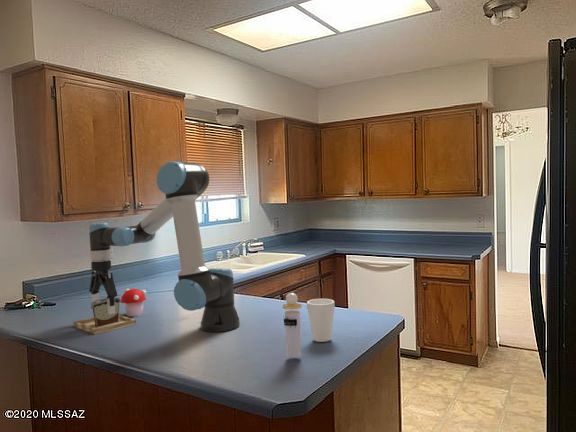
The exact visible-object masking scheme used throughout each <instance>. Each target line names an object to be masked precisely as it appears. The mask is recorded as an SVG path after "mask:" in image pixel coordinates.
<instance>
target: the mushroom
mask: <svg viewBox="0 0 576 432" xmlns="http://www.w3.org/2000/svg"><path fill="white" fill-rule="evenodd" d="M146 294H147V291H146V289H142V290H139V289H138V288H126V289H125V290H124V293H123V294H121V298H120V301H121V304H125V305H124V306H125V307H124V309H125V313H126V317H128V318H131V317H132V318H133V317H140V316H141V315H143V312H144V311H143V310H144V303H143V302H144V301H147V298H146V296H145V295H146Z"/></svg>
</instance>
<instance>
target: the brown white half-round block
mask: <svg viewBox="0 0 576 432" xmlns="http://www.w3.org/2000/svg"><path fill="white" fill-rule="evenodd" d="M114 299H115V313H114V314H108V306H107V297H103V298H100V299H98V300H95V301H91V304H90V309H92V314H93V317H94V321H95V327H97V328H98V327H102V326H106V325H110V324H114V323H117V322H119V315H120V303H121V298H120V297H114ZM121 304H122V303H121Z"/></svg>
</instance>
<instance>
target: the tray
mask: <svg viewBox="0 0 576 432" xmlns="http://www.w3.org/2000/svg"><path fill="white" fill-rule="evenodd" d="M72 323H73V327H75V328H77V329H80V330H82V331H85V332H88V333H90V334H93V335H99V334H103V333H106V332H110V331H115V330H119V329H122V328H126V327H131V326H135V325H137V320H136V319H134V318H131V317H129V316H124V315H121V314H119V322H117V323H114V324H110V325H106V326H102V327H98V328H97V327H95V321H94V316H93V317H90V318H84V319H81V320H75V321H72Z"/></svg>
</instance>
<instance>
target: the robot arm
mask: <svg viewBox="0 0 576 432" xmlns="http://www.w3.org/2000/svg"><path fill="white" fill-rule="evenodd" d="M156 184H157V185H156V186H157V188H158V189H159V190H160V192H162V193H163V194H165V198H164V199H163V200H162V201H161V202H160V203H159V204H158V205H157V206H156V207H155V208H154V209H152V210H151V211H149V212H150V213H148V214H147V215H145V217H144V218H142V220H140V222H139V223H138V224H136V225H128V226H117V227H110V224H109V223H108V222H94V223H93V222H92V223H91V224H89V226H88V227H89V229H88V231H89V232H88V235H89V247H90V249H89V250H90V252H89V253H90V260H91V264H90V265H91V268H90V269H91V278H90V283H89V290H88V291H89V293H90V294H91V295H92V296H91V297H92V298H91V299H92V301H91V302H93V301H95V300H98V299H101V298H100V288H101V287H102V286H103V288H104V290H105V293H106V295H107V296H106V298H107V306H108V314H114V313H115V299H114V298H117V297H118V292H117V288H116V285H115V282H114V277H113V276H114V275H113V273H112V272H109V270H111V269H112V261H111V258H112V257H111V253H112V251H111V247H128V246H130V245H134V244H145V243H149V242H152V241H153V240H154V239H155V236H156V233H157V232H158V231H159V230H160V229H161V228H162V227H163V226H164V225H166V224H167V223H168V222H169V221H170V220H171V219H172V218H173V224H174V230H175V236H176V242H177V243H176V244H177V252H178V255H179V257H178V258H179V263H180V271H178V274H177V278H178V281H177V283H175V286H174V288H173V296H174V299H175V301H176V303H177V305H179V306H180V307H181V308H182V309H183V310H186V311H188V312H189V311H191V312H192V311H197V310H201V309H203V308H204V309H203V313H202V317H201V321H200V329H201V330H202V331H205V332H211V333H218V332H227V331H232V330H235V329H237V328H239V327H240V325H241V323H240V320H241V319H240V317H239V315H238V312H237V309H236V307H235V291H234V288H235V287H234V274H233V270H232V269H230V268H219V267H218V268H217V267H216V268H214V267H212V268H210V267H208V266H207V265H206V264H205V257H204V256H205V255H204V251H203V245H202V237H201V231H200V225H199V220H198V219H199V218H198V213H197V206H196V200H197V199H198V198H199V197H200V196H201V195H203V194H204V193H205V191H206V190H207V188H208V187H209V184H210V174H209V172H208V170H207V169H206V167H205V166H203V165H202V164H200V163H196V162H186V161H181V160H176V161H175V160H174V161H172V160H171V161H167V162H165V163H163V165H161V167H160V169H158V171H157V174H156Z"/></svg>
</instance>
